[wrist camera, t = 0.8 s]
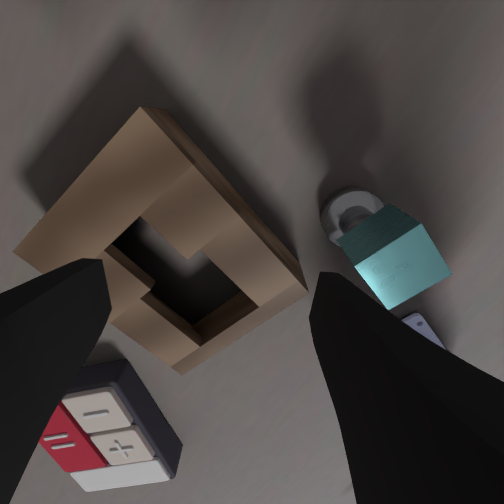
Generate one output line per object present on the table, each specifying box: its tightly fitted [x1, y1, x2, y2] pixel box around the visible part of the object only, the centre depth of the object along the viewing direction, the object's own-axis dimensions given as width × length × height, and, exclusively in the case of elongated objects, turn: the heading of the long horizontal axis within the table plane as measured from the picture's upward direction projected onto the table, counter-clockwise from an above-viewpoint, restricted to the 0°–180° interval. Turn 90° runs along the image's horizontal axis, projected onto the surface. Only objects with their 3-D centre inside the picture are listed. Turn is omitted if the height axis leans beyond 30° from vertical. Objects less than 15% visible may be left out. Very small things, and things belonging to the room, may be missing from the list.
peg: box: [320, 186, 452, 310], centre depth 16 cm, size 4×4×8 cm
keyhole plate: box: [13, 106, 309, 375], centre depth 19 cm, size 14×12×4 cm
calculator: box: [39, 359, 183, 492], centre depth 28 cm, size 11×4×15 cm
